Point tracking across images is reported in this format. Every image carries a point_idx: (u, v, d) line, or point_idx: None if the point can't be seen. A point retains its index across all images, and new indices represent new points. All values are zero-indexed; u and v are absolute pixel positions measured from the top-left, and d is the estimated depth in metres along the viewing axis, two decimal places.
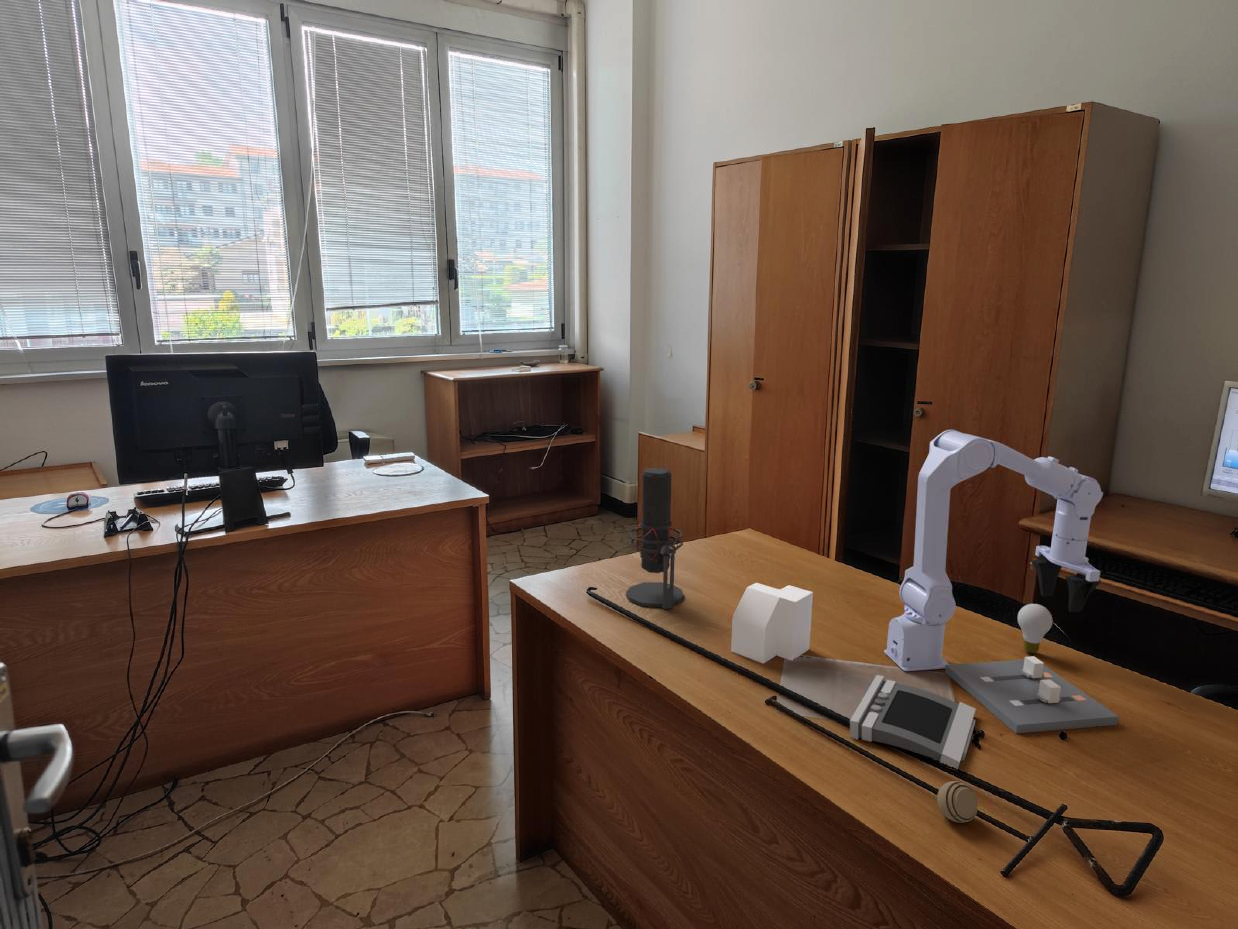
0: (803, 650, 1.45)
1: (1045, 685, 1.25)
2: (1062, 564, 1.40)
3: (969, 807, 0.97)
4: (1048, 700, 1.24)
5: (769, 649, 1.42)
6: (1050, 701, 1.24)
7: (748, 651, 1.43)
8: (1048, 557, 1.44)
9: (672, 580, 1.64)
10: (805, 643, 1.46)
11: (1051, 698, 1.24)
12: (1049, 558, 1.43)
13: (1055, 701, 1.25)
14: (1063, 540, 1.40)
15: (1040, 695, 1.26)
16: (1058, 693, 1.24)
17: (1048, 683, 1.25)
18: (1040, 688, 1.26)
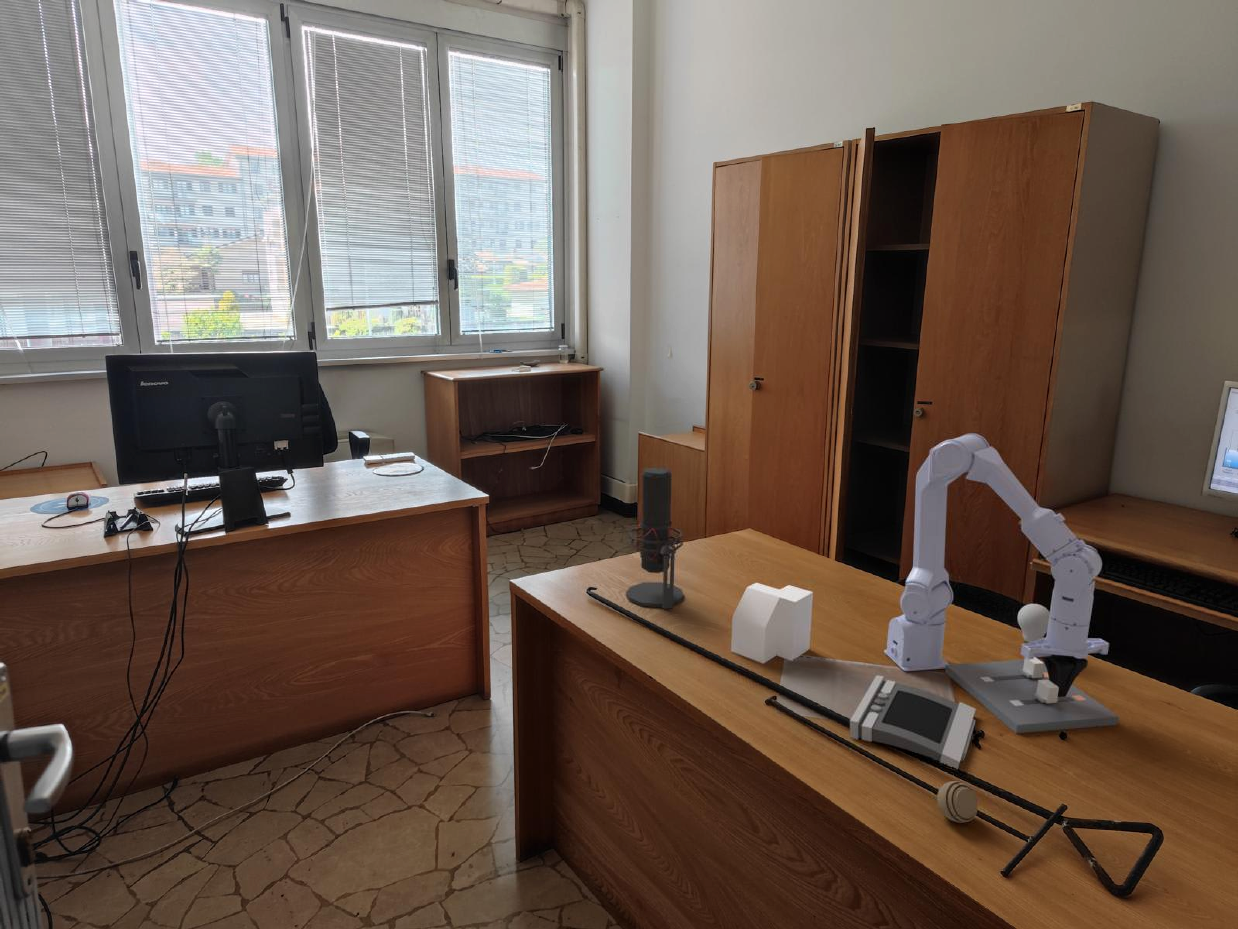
0: (803, 650, 1.45)
1: (1043, 685, 1.25)
2: None
3: (969, 807, 0.97)
4: (1046, 700, 1.24)
5: (769, 649, 1.42)
6: (1048, 701, 1.24)
7: (748, 651, 1.43)
8: None
9: (672, 580, 1.64)
10: (805, 643, 1.46)
11: (1049, 698, 1.24)
12: None
13: (1053, 701, 1.24)
14: None
15: (1038, 695, 1.26)
16: (1056, 693, 1.24)
17: (1046, 684, 1.25)
18: (1038, 688, 1.26)
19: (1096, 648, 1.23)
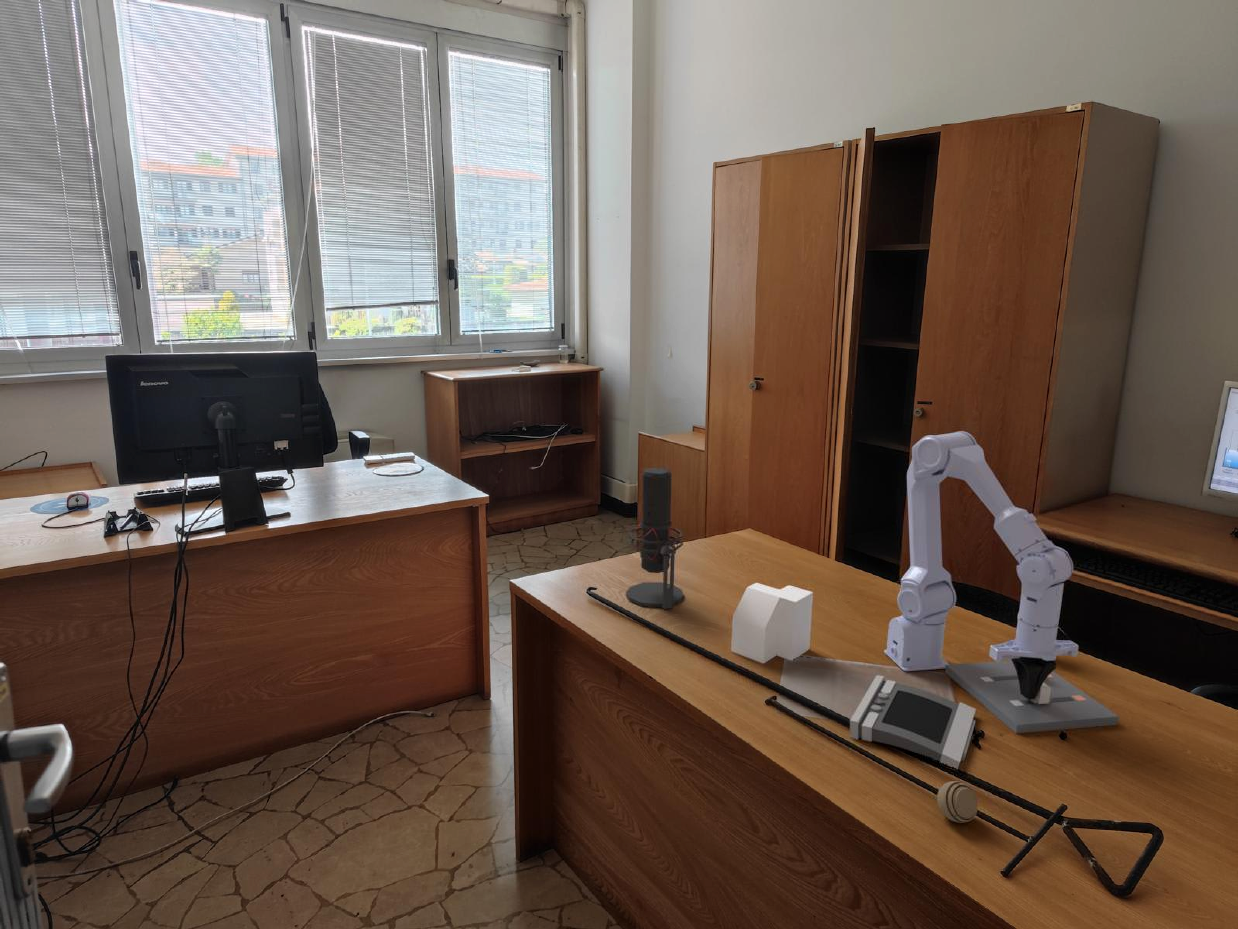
0: (803, 650, 1.45)
1: None
2: None
3: (969, 807, 0.97)
4: (1038, 701, 1.24)
5: (769, 649, 1.42)
6: (1040, 702, 1.24)
7: (748, 651, 1.43)
8: None
9: (672, 580, 1.64)
10: (805, 643, 1.46)
11: (1041, 699, 1.24)
12: None
13: (1045, 702, 1.24)
14: None
15: None
16: (1048, 694, 1.24)
17: None
18: None
19: (1065, 650, 1.22)
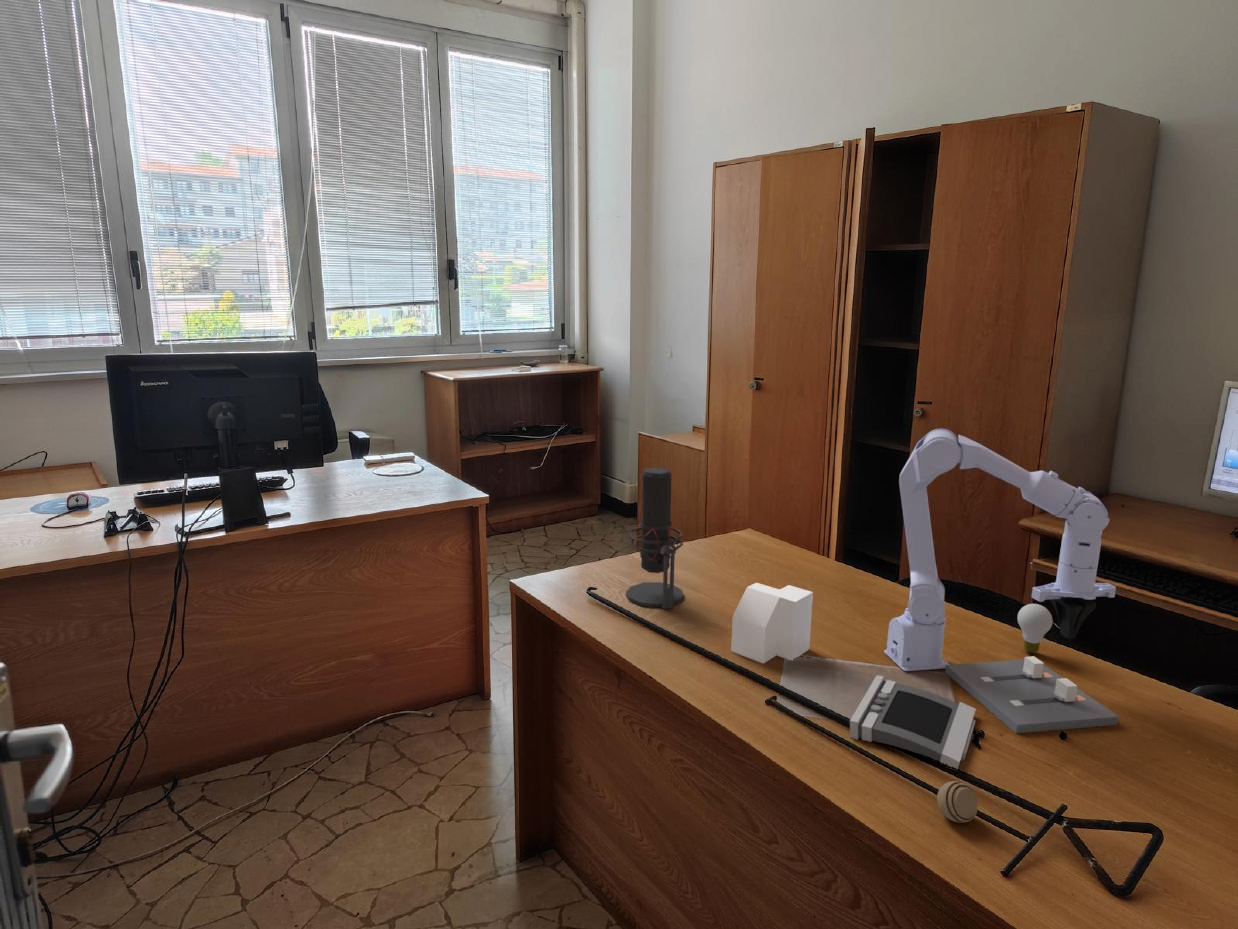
0: (803, 650, 1.45)
1: (1062, 684, 1.26)
2: None
3: (969, 807, 0.97)
4: (1065, 699, 1.25)
5: (769, 649, 1.42)
6: (1067, 700, 1.25)
7: (748, 651, 1.43)
8: None
9: (672, 580, 1.64)
10: (805, 643, 1.46)
11: (1068, 697, 1.25)
12: None
13: (1072, 700, 1.25)
14: None
15: (1056, 694, 1.26)
16: (1075, 692, 1.25)
17: (1064, 682, 1.25)
18: (1056, 687, 1.27)
19: (1103, 591, 1.29)
